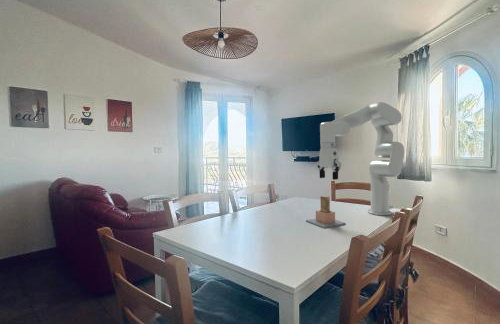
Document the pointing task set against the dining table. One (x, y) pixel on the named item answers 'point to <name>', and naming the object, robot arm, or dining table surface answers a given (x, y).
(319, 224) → the square socket base
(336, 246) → the dining table surface
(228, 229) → the dining table surface
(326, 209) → the stick
